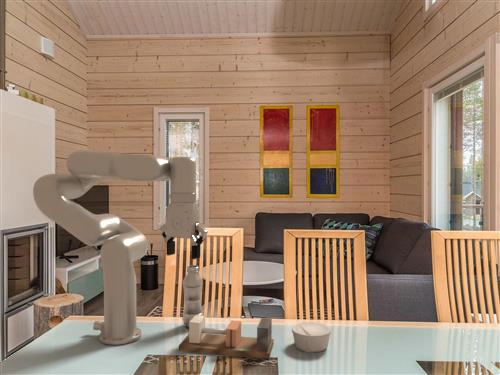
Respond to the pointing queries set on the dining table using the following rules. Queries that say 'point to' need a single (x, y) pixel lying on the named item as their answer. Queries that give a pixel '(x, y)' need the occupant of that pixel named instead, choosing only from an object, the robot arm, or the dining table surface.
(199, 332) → the plunger
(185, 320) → the plastic bottle
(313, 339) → the ramekin
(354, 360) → the dining table surface
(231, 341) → the block
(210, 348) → the base
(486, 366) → the dining table surface
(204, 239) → the robot arm
